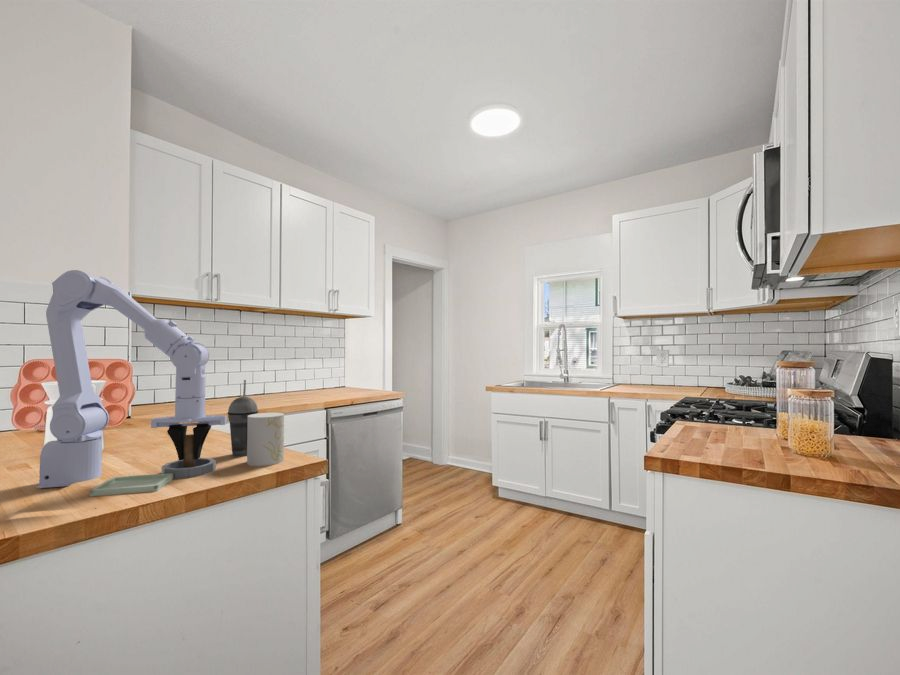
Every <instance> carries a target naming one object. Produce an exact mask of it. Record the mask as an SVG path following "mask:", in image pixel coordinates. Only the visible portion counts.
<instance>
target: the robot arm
mask: <svg viewBox="0 0 900 675" xmlns="http://www.w3.org/2000/svg"><path fill="white" fill-rule="evenodd" d="M51 285H52V291H53V292H52V295H51V298H50V300H49V303H48V305H47V307H46V311H45V315H46V316H45V317H46V322H47V328H48V334H49V340H50V345H51V351H52V353H51V354H52V357H53V362H54V363H53V364H54V368H55V375H56V376H55V377H56V381H57V386H58V392H59V396H58V398H57V400H55V403H54V404H52V407H51V409H52V416H51V420H50V423H49V430H50V433H51V435H52V436H53V437H54V438H56V440H51V441H48V442H46V443H45V444H44V445H43V447H42V449H41V451H40V455H39V478H38V479H39V484H38V485H37V486H36V489H44V488H45V489H46V488H59V487H60V488H61V487H69V486H71V485H73V484H75V483H80V482H87V481H91V480H94V479H98V478H99V477H101V476H102V469H103V468H102V464H103V463H102V460H103V431H104V429H106V427H107V426H108V424H109V422H110V414H109V412H108V410H107V409H106V408H105V407H104V405H103V402H102V398H101V397H100V396H99V395H98V394H97V393H96V392H95V391H94V388H93V382H92V377H91V376H92V375H91V371H90V365H89V358H88V353H87V346H86V341H85V336H84V330H83V324H82V320H83V319H84V318H85V317H87V315H88V314H89V313H91V312H92V311H94V310H96V309H98V308H100V307H102V306H109V307H112V308H113V309H115V310H116V311H118V312H119V313H120V314H122V315H123V316H124V317H126V318H128V320H130V321H132V322H133V323H134V324H136V325H137V326H138V327H140V328H142V329H143V331H144V332H143V333H144V338H145V339H146V341H149V343H151V344H152V345H153V346H154V347H155V348H157V349H158V350H160V351H161V352H163V353H164V354H165V355H166V356H168V358H169V357H170V362H171V364H172V365H173V366H174V367H175V391H174V392H175V394H174V397H175V400H174V402H175V403H174V404H175V405H174V407H175V408H174V416H165V417H164V416H163V417H162V416H161V417H153V418H151V420H150V428H151V429H158V428H168V427H169V428H168V429H166V432H167V435H168V436H169V438H170V439H171V441H172V442H173V445H174V448H175V450H176V454H177V458H178V459H177V460H183V440H184V435H187V432H188V431H187V430H188V427H191V426H192V434H194V459H199V458H201V455H202V449H203V446H204V444H205V441H206V438H207V437H208V434H209V432H210V430H211V428H212V426H216V425H217V426H218V425H220V426H225V425H227V424H228V414H226V415H225V414H222V415H221V414H218V415H217V414H209V415H207V414H206V364H207V363H208V361H209V359H210V352H209V350H208V348H206V347H205V345H204V344H203V343H199V342H194V341H195V338H194V336H191V335H189V336H188V335H187V334H186V333H184V332H183V331H181V330H180V329H179V328H178V327H177V326H178V323H177V322H175V321H173V320H168V319H165V318H163V319H161V318H160V319H157V318H156V317H155V316H154V315H153V314H151V313H150V312H149V311H148V310H147V309H146V308H144V306H142V305H141V304H140V303H139V302H138V301H137V300H135V299H134V298H133V297H132V296H131V295H129V294H128V293H127V292H126V291H124V290H123V289H122V288H121V287H120V286H119V285H116V284H115V283H112V282H111V281H110V279H108V278H105V277H102V276H97V275H92V274H90V273H87V272H85V271H81V270H79V269H78V270H77V269H71V270H67V271H65V272H63V273H62V274H60V276H58V277H57V278H56V279H55V280H54V281H52V282H51ZM193 426H195V427H193Z"/></svg>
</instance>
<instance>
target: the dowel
mask: <svg viewBox="0 0 900 675" xmlns="http://www.w3.org/2000/svg"><path fill="white" fill-rule="evenodd" d="M190 467H196V459H194V434H193V433H192V434H191V433H190V434H186V435H184V440H183V468H190Z"/></svg>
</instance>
